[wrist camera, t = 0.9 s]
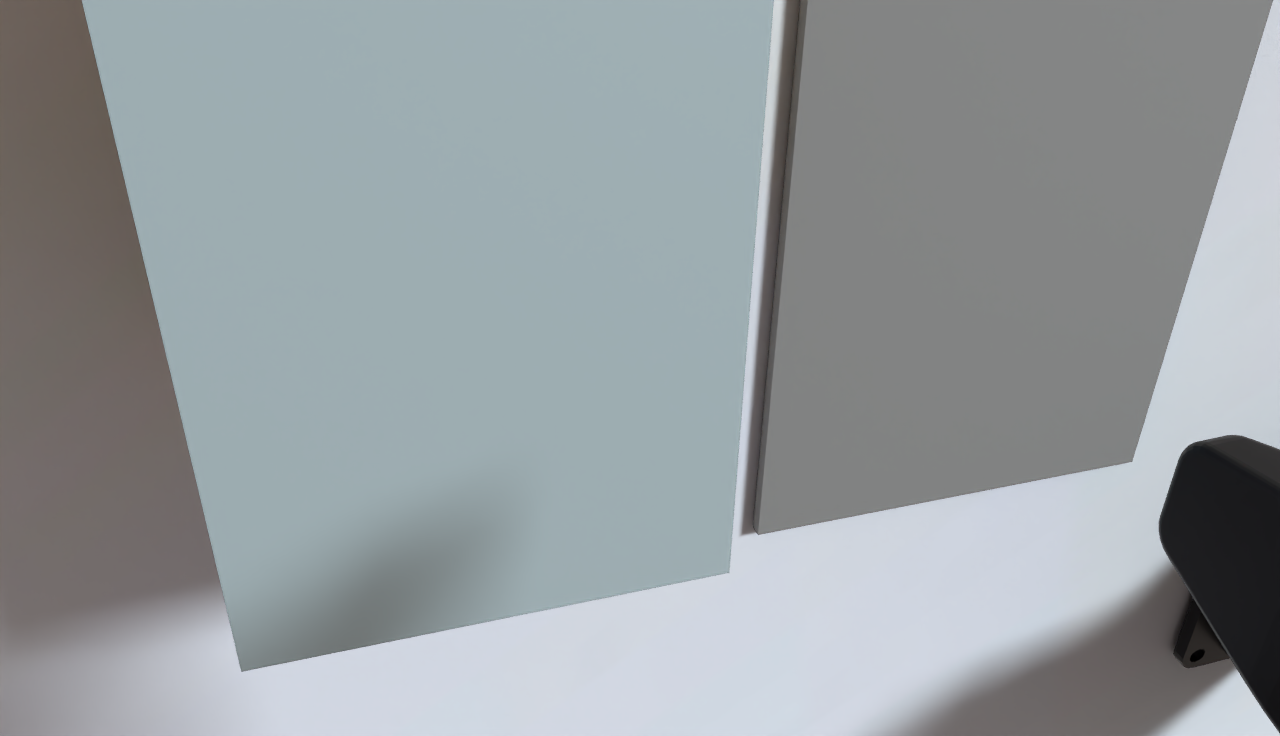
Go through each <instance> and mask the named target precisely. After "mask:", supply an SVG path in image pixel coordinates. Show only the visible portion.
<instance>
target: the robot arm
mask: <svg viewBox="0 0 1280 736" xmlns="http://www.w3.org/2000/svg"><path fill="white" fill-rule="evenodd" d="M1159 535H1160V540H1161V543H1162V546H1163V549H1164V551H1165V552H1166V554H1167V556H1168V558H1169V559H1170V561H1171V563H1172V564H1173V566H1174V567H1175V569H1176V571H1177V572H1178V574H1179V576H1180V577H1181V579H1182V580H1183V582H1184V584H1185V585H1186V587H1187V589H1188V590H1189V592H1190V593H1191V595H1192V597H1193V599H1192V602H1191V605H1190V607H1189V610H1188V613H1187V616H1186V618H1185V621H1184V624H1183V626H1182V629H1181V632H1180V634H1179V637H1178V640H1177V643H1176V645H1175V648H1174V653H1173V654H1174V656H1175V657H1176V658H1177V660H1178V661H1179V662H1180V663H1181V664H1182V665H1183V666H1184V667H1186V668H1193V667H1197V666H1201V665H1205V664H1209V663H1213V662H1217V661H1221V660H1225V659H1229V658H1231V660H1232V662H1233V663H1234V665H1235V667H1236V668H1237V670H1238V672H1239V673H1240V675H1241V676H1242V678H1243V680H1244V681H1245V683H1246V684H1247V686H1248V688H1249V689H1250V691H1251V692H1252V694H1253V695H1254V697H1255V698H1256V700H1257V701H1258V703H1259V705H1260V706H1261V708H1262V709H1263V711H1264V712H1265V713H1266V715H1267V716H1268V718H1269V719H1270V720H1271V722H1272V723H1273V725H1274V726H1275V727H1276V729H1277V730H1278V732H1279V733H1280V449H1277V448H1274V447H1272V446H1269V445H1266V444H1263V443H1261V442H1258V441H1255V440H1253V439H1250V438H1247V437H1244V436H1238V435H1227V436H1222V437H1218V438H1213V439H1208V440H1203V441H1199V442H1195V443H1193V444H1191V445H1189V446H1188V447H1187V448H1186V449H1185V450H1184V451H1183V452H1182V454H1181V456H1180V458H1179V460H1178V463H1177V466H1176V469H1175V472H1174V475H1173V478H1172V482H1171V485H1170V488H1169V491H1168V494H1167V497H1166V500H1165V503H1164V506H1163V509H1162V512H1161V515H1160V519H1159Z"/></svg>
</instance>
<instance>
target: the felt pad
mask: <svg viewBox="0 0 1280 736" xmlns="http://www.w3.org/2000/svg"><path fill="white" fill-rule="evenodd" d="M1272 2H1273V0H800V11H799V22H798V33H797V44H796V55H795V66H794V77H793V88H792V100H791V111H790V122H789V133H788V144H787V155H786V166H785V177H784V189H783V200H782V211H781V222H780V233H779V244H778V255H777V266H776V278H775V289H774V300H773V311H772V322H771V333H770V344H769V355H768V366H767V378H766V389H765V400H764V411H763V422H762V433H761V444H760V455H759V467H758V478H757V489H756V500H755V511H754V522H753V527H754V529H755V531H756V532H757V534H758V535H760V534H765V533H770V532H775V531H780V530H785V529H791V528H796V527H801V526H806V525H811V524H816V523H821V522H826V521H832V520H837V519H842V518H847V517H852V516H857V515H862V514H867V513H872V512H878V511H883V510H888V509H893V508H898V507H903V506H908V505H913V504H919V503H924V502H929V501H934V500H939V499H944V498H949V497H954V496H959V495H965V494H970V493H975V492H980V491H985V490H990V489H995V488H1000V487H1005V486H1011V485H1016V484H1021V483H1026V482H1031V481H1036V480H1041V479H1046V478H1052V477H1057V476H1062V475H1067V474H1072V473H1077V472H1082V471H1087V470H1092V469H1098V468H1103V467H1108V466H1113V465H1118V464H1123V463H1128V462H1132V460H1133V457H1134V454H1135V450H1136V447H1137V444H1138V441H1139V437H1140V434H1141V431H1142V427H1143V424H1144V421H1145V418H1146V414H1147V411H1148V408H1149V405H1150V401H1151V398H1152V395H1153V391H1154V388H1155V385H1156V382H1157V378H1158V375H1159V372H1160V369H1161V365H1162V362H1163V359H1164V355H1165V352H1166V349H1167V346H1168V342H1169V339H1170V336H1171V333H1172V329H1173V326H1174V323H1175V319H1176V316H1177V313H1178V310H1179V306H1180V303H1181V300H1182V297H1183V293H1184V290H1185V287H1186V283H1187V280H1188V277H1189V274H1190V270H1191V267H1192V264H1193V261H1194V257H1195V254H1196V251H1197V247H1198V244H1199V241H1200V238H1201V234H1202V231H1203V228H1204V225H1205V221H1206V218H1207V215H1208V211H1209V208H1210V205H1211V202H1212V198H1213V195H1214V192H1215V189H1216V185H1217V182H1218V179H1219V175H1220V172H1221V169H1222V166H1223V162H1224V159H1225V156H1226V153H1227V149H1228V146H1229V143H1230V139H1231V136H1232V133H1233V130H1234V126H1235V123H1236V120H1237V117H1238V113H1239V110H1240V107H1241V103H1242V100H1243V97H1244V94H1245V90H1246V87H1247V84H1248V81H1249V77H1250V74H1251V71H1252V67H1253V64H1254V61H1255V58H1256V54H1257V51H1258V48H1259V45H1260V41H1261V38H1262V35H1263V31H1264V28H1265V25H1266V22H1267V18H1268V15H1269V12H1270V9H1271V5H1272Z"/></svg>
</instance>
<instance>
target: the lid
mask: <svg viewBox="0 0 1280 736" xmlns="http://www.w3.org/2000/svg"><path fill="white" fill-rule="evenodd" d="M773 3H774V0H82V4H83V8H84V12H85V16H86V20H87V25H88V29H89V33H90V37H91V41H92V46H93V50H94V54H95V58H96V62H97V67H98V71H99V75H100V79H101V83H102V88H103V92H104V96H105V100H106V104H107V109H108V113H109V117H110V121H111V125H112V130H113V134H114V138H115V142H116V146H117V151H118V155H119V159H120V163H121V167H122V172H123V176H124V180H125V184H126V188H127V193H128V197H129V201H130V205H131V209H132V214H133V218H134V222H135V226H136V230H137V235H138V239H139V243H140V247H141V251H142V256H143V260H144V264H145V268H146V273H147V277H148V281H149V285H150V289H151V294H152V298H153V302H154V306H155V310H156V315H157V319H158V323H159V327H160V331H161V336H162V340H163V344H164V348H165V352H166V357H167V361H168V365H169V369H170V373H171V378H172V382H173V386H174V390H175V394H176V399H177V403H178V407H179V411H180V415H181V420H182V424H183V428H184V432H185V436H186V441H187V445H188V449H189V453H190V457H191V462H192V466H193V470H194V474H195V478H196V483H197V487H198V491H199V495H200V499H201V504H202V508H203V512H204V516H205V520H206V525H207V529H208V533H209V537H210V541H211V546H212V550H213V554H214V558H215V562H216V567H217V571H218V575H219V579H220V584H221V588H222V592H223V596H224V600H225V605H226V609H227V613H228V617H229V621H230V626H231V630H232V634H233V638H234V642H235V647H236V651H237V655H238V659H239V663H240V668H241V672H242V671H247V670H252V669H257V668H262V667H267V666H272V665H277V664H282V663H287V662H292V661H297V660H302V659H307V658H311V657H316V656H321V655H326V654H331V653H336V652H341V651H346V650H351V649H356V648H361V647H366V646H371V645H376V644H380V643H385V642H390V641H395V640H400V639H405V638H410V637H415V636H420V635H425V634H430V633H435V632H440V631H445V630H449V629H454V628H459V627H464V626H469V625H474V624H479V623H484V622H489V621H494V620H499V619H504V618H509V617H513V616H518V615H523V614H528V613H533V612H538V611H543V610H548V609H553V608H558V607H563V606H568V605H573V604H578V603H582V602H587V601H592V600H597V599H602V598H607V597H612V596H617V595H622V594H627V593H632V592H637V591H642V590H647V589H651V588H656V587H661V586H666V585H671V584H676V583H681V582H686V581H691V580H696V579H701V578H706V577H711V576H716V575H720V574H725V573H729V569H730V556H731V543H732V530H733V518H734V505H735V492H736V479H737V466H738V453H739V440H740V427H741V415H742V402H743V389H744V376H745V363H746V350H747V337H748V325H749V312H750V299H751V286H752V273H753V260H754V247H755V235H756V222H757V209H758V196H759V183H760V170H761V157H762V145H763V132H764V119H765V106H766V93H767V80H768V67H769V55H770V42H771V29H772V16H773Z"/></svg>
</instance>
